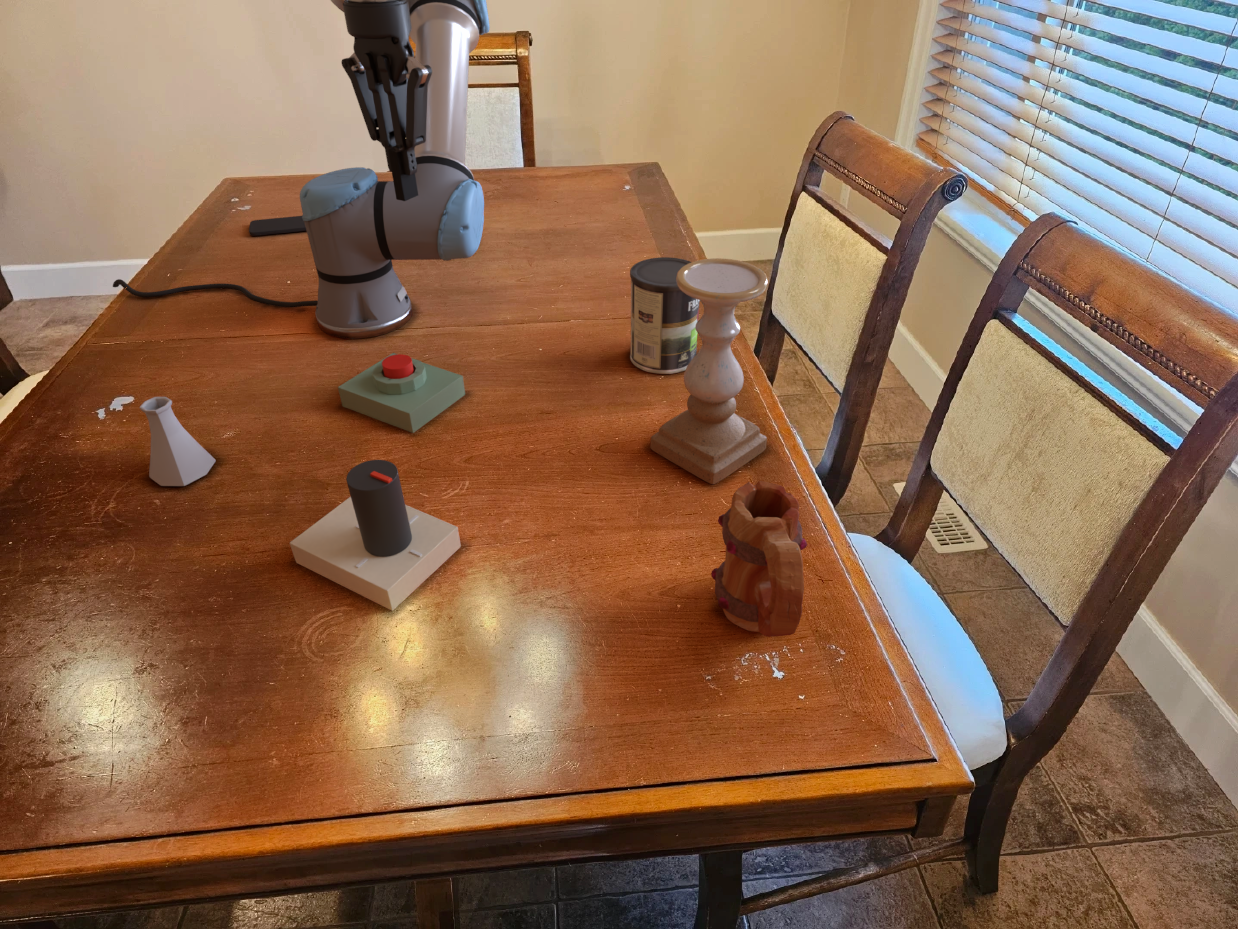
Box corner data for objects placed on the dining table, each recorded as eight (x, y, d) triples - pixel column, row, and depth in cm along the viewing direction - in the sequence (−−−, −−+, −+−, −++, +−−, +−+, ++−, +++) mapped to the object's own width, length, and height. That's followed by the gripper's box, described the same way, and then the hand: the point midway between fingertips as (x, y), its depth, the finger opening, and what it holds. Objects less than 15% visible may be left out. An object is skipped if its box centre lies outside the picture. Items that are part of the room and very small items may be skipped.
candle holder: (703, 415, 109) (715, 248, 95) (767, 448, 103) (791, 275, 88) (648, 448, 103) (652, 275, 89) (713, 486, 97) (729, 307, 82)
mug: (703, 577, 85) (714, 466, 75) (779, 573, 85) (798, 461, 76) (730, 692, 73) (746, 577, 64) (817, 686, 74) (845, 570, 64)
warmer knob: (354, 546, 84) (334, 478, 78) (386, 519, 88) (370, 451, 82) (389, 563, 82) (372, 493, 76) (421, 534, 86) (407, 466, 80)
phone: (326, 225, 163) (248, 233, 159) (327, 229, 164) (249, 237, 160) (325, 213, 169) (250, 220, 165) (326, 217, 169) (251, 224, 166)
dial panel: (295, 562, 87) (288, 541, 85) (368, 506, 94) (363, 485, 92) (392, 611, 81) (386, 589, 79) (461, 546, 88) (457, 525, 87)
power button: (378, 375, 109) (375, 364, 108) (398, 362, 112) (396, 351, 111) (400, 382, 107) (397, 371, 106) (419, 369, 110) (417, 358, 109)
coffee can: (700, 344, 125) (706, 259, 116) (691, 378, 117) (697, 289, 108) (636, 338, 127) (637, 253, 118) (623, 370, 119) (623, 282, 110)
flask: (227, 459, 101) (202, 393, 95) (185, 493, 96) (156, 425, 90) (182, 448, 103) (154, 382, 97) (138, 481, 98) (106, 414, 92)
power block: (342, 406, 111) (334, 375, 108) (396, 371, 119) (391, 341, 116) (413, 433, 106) (407, 401, 103) (465, 394, 113) (461, 364, 110)
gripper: (310, -4, 93) (352, 197, 108) (394, 4, 88) (425, 214, 102) (357, -11, 98) (390, 181, 113) (438, -4, 93) (462, 197, 108)
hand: (407, 197), depth 108 cm, fingers closed
